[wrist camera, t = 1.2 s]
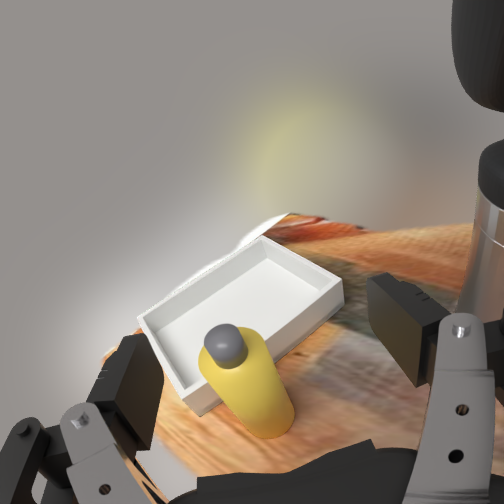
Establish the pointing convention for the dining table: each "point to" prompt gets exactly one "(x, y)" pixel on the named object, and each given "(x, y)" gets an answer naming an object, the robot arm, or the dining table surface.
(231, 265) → the tray
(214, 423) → the dining table surface
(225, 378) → the squeeze bottle
